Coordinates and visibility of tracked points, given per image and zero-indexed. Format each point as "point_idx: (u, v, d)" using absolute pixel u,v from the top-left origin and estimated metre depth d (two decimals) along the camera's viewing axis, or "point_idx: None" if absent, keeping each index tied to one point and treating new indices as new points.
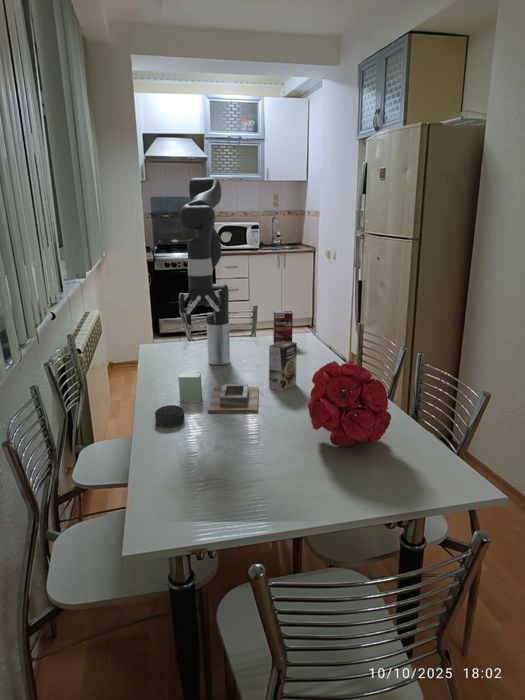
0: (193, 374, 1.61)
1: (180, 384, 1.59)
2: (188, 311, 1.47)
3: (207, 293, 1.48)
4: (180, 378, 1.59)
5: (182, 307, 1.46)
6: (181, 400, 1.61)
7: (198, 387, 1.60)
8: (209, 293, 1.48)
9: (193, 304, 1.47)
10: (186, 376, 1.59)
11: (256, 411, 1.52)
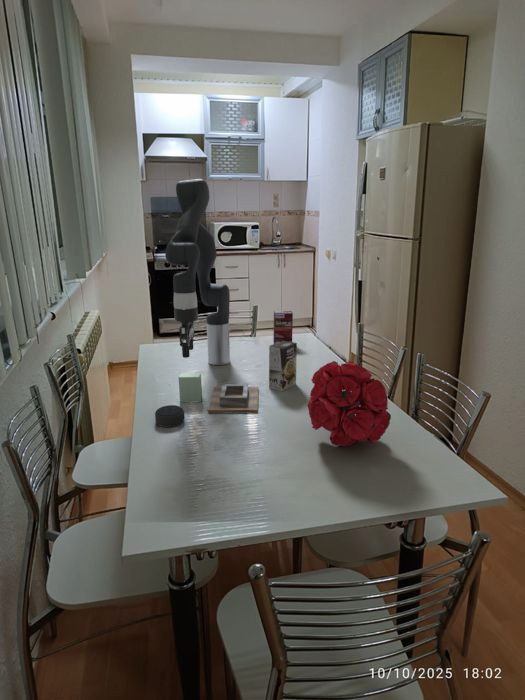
0: (193, 374, 1.61)
1: (180, 384, 1.59)
2: (188, 343, 1.52)
3: (190, 323, 1.57)
4: (180, 378, 1.59)
5: (187, 340, 1.50)
6: (181, 400, 1.61)
7: (198, 387, 1.60)
8: (191, 323, 1.58)
9: (190, 335, 1.53)
10: (186, 376, 1.59)
11: (256, 411, 1.52)
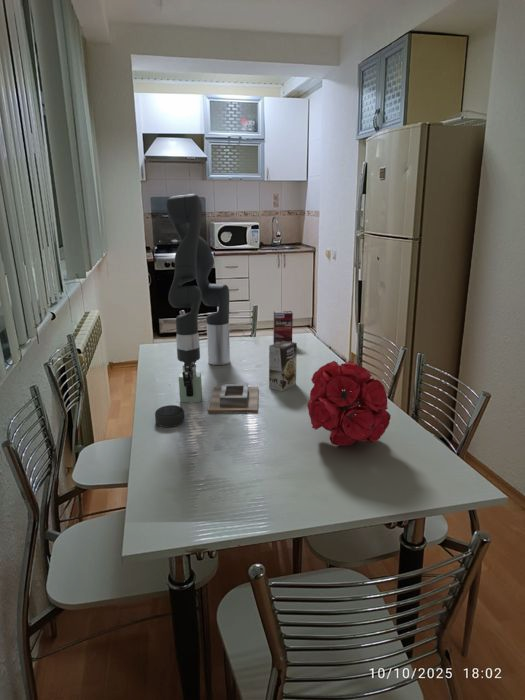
0: None
1: (180, 384, 1.60)
2: (192, 383, 1.59)
3: (193, 362, 1.61)
4: (180, 378, 1.59)
5: (191, 382, 1.56)
6: (181, 400, 1.61)
7: (198, 387, 1.60)
8: (193, 360, 1.62)
9: (193, 375, 1.58)
10: None
11: (256, 411, 1.52)
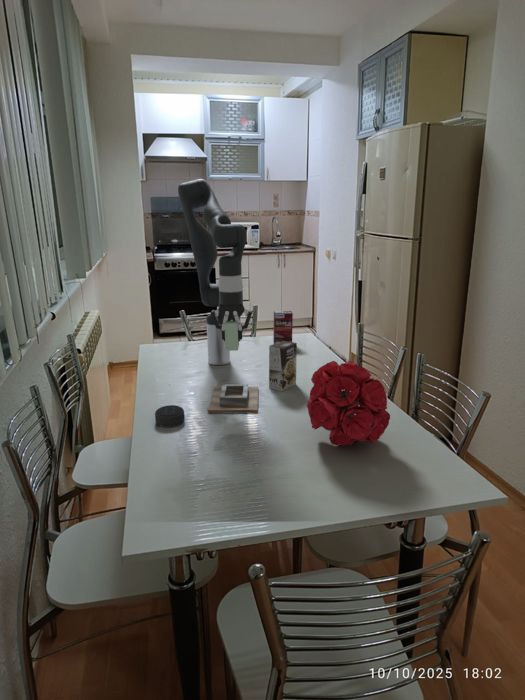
0: (230, 320, 1.55)
1: (237, 331, 1.52)
2: None
3: None
4: (237, 324, 1.51)
5: None
6: (237, 348, 1.53)
7: None
8: None
9: None
10: (235, 321, 1.53)
11: (256, 411, 1.52)
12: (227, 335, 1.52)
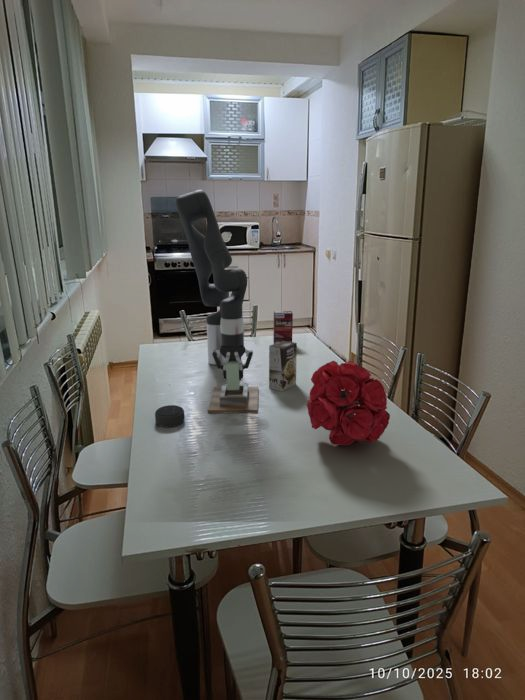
0: None
1: (238, 371, 1.56)
2: None
3: None
4: (238, 364, 1.55)
5: None
6: None
7: None
8: None
9: None
10: (236, 361, 1.57)
11: (256, 411, 1.52)
12: (228, 375, 1.56)
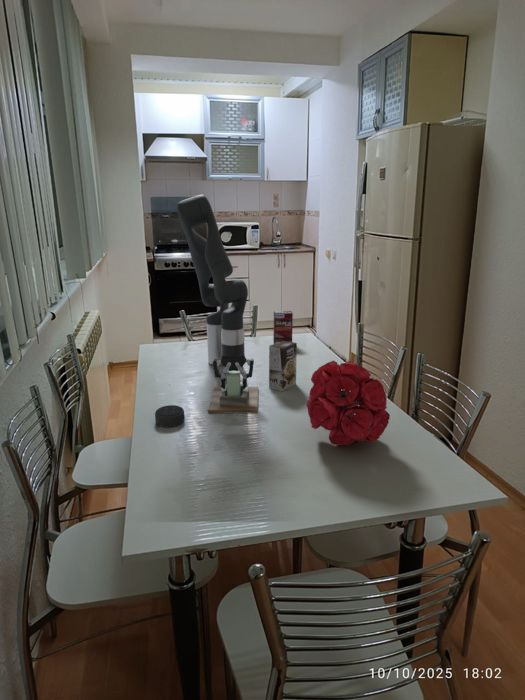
0: (232, 371, 1.60)
1: (239, 383, 1.57)
2: None
3: None
4: (239, 377, 1.57)
5: None
6: None
7: None
8: None
9: None
10: (237, 373, 1.58)
11: (256, 411, 1.52)
12: (229, 387, 1.57)
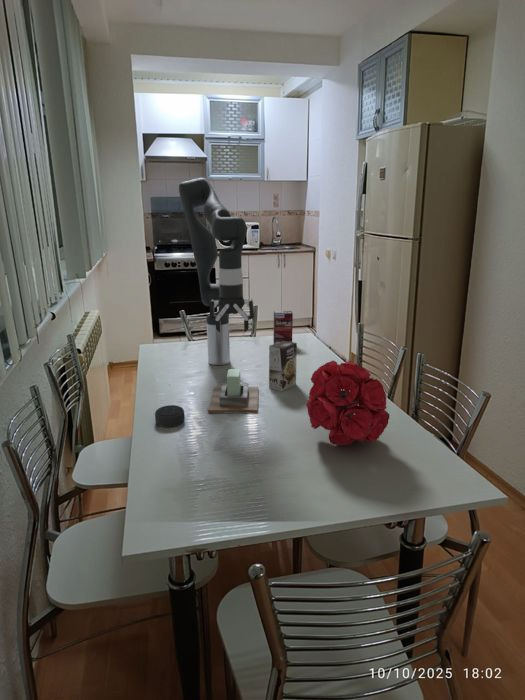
0: (232, 371, 1.60)
1: (239, 383, 1.57)
2: None
3: None
4: (239, 377, 1.57)
5: None
6: None
7: None
8: None
9: None
10: (237, 373, 1.58)
11: (256, 411, 1.52)
12: (229, 387, 1.57)
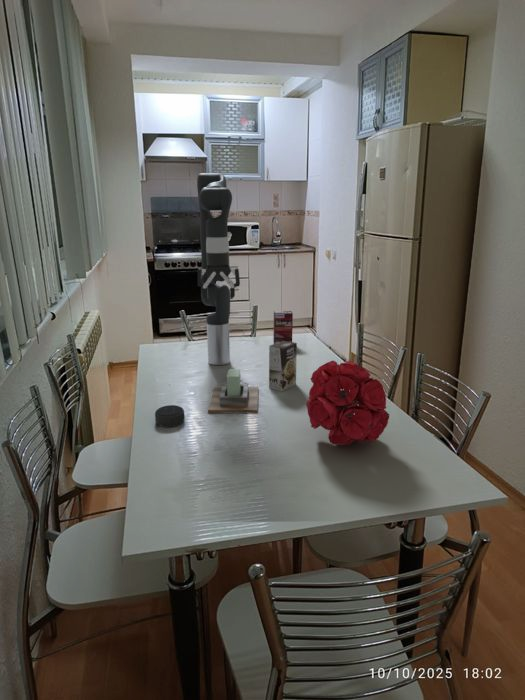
0: (232, 371, 1.60)
1: (239, 383, 1.57)
2: None
3: None
4: (239, 377, 1.57)
5: None
6: None
7: None
8: None
9: None
10: (237, 373, 1.58)
11: (256, 411, 1.52)
12: (229, 387, 1.57)
